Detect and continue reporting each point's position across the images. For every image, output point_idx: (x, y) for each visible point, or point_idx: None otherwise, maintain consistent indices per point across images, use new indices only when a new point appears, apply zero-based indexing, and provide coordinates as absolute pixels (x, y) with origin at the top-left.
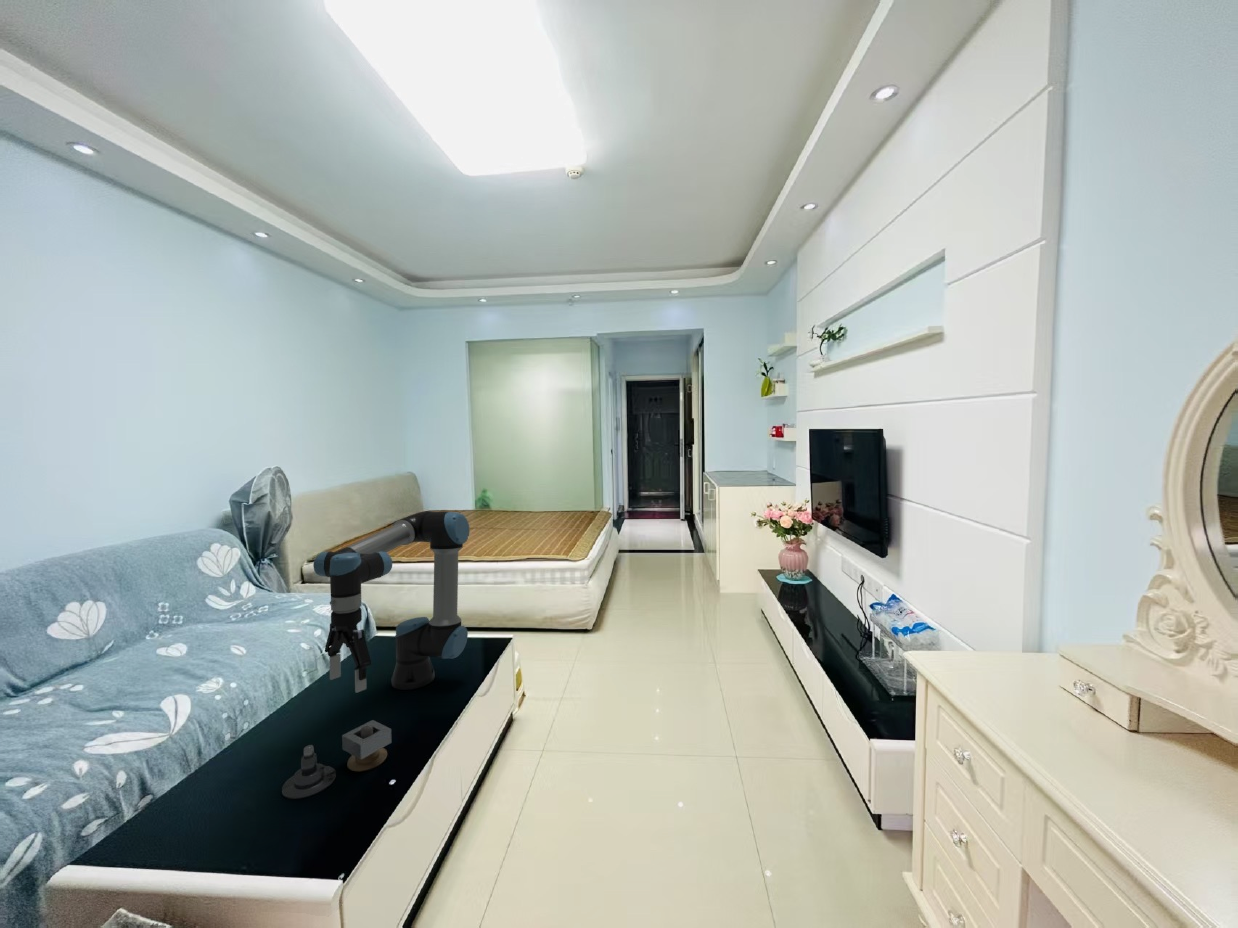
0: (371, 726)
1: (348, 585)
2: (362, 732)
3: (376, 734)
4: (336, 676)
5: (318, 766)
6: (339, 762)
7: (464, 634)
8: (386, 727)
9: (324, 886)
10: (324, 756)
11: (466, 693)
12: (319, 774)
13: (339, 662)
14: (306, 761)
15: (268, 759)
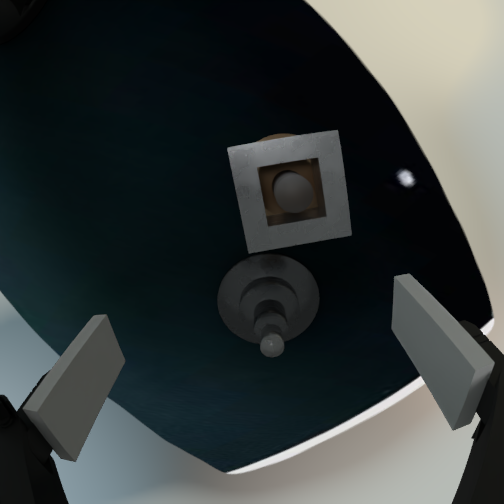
0: (293, 177)
1: None
2: (299, 210)
3: (332, 177)
4: (111, 341)
5: (264, 294)
6: (236, 231)
7: None
8: (316, 136)
9: (488, 329)
10: (182, 248)
11: None
12: (297, 300)
13: (69, 376)
14: (285, 339)
15: (116, 326)
